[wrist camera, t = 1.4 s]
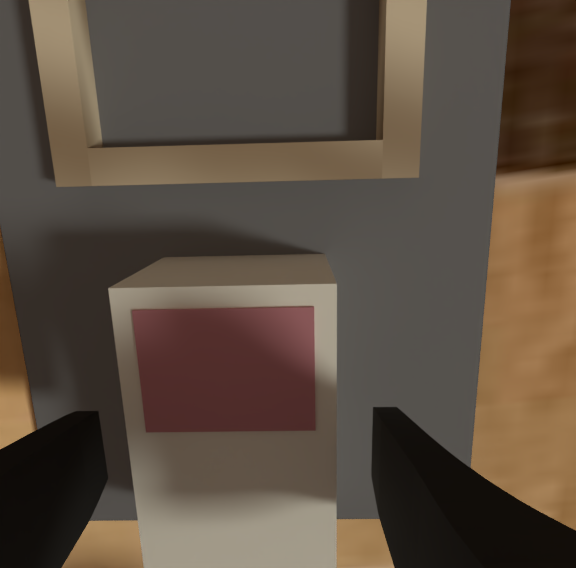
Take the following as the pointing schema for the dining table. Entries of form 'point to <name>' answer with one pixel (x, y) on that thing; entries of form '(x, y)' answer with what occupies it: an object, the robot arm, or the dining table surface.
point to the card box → (231, 409)
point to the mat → (262, 203)
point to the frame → (225, 157)
